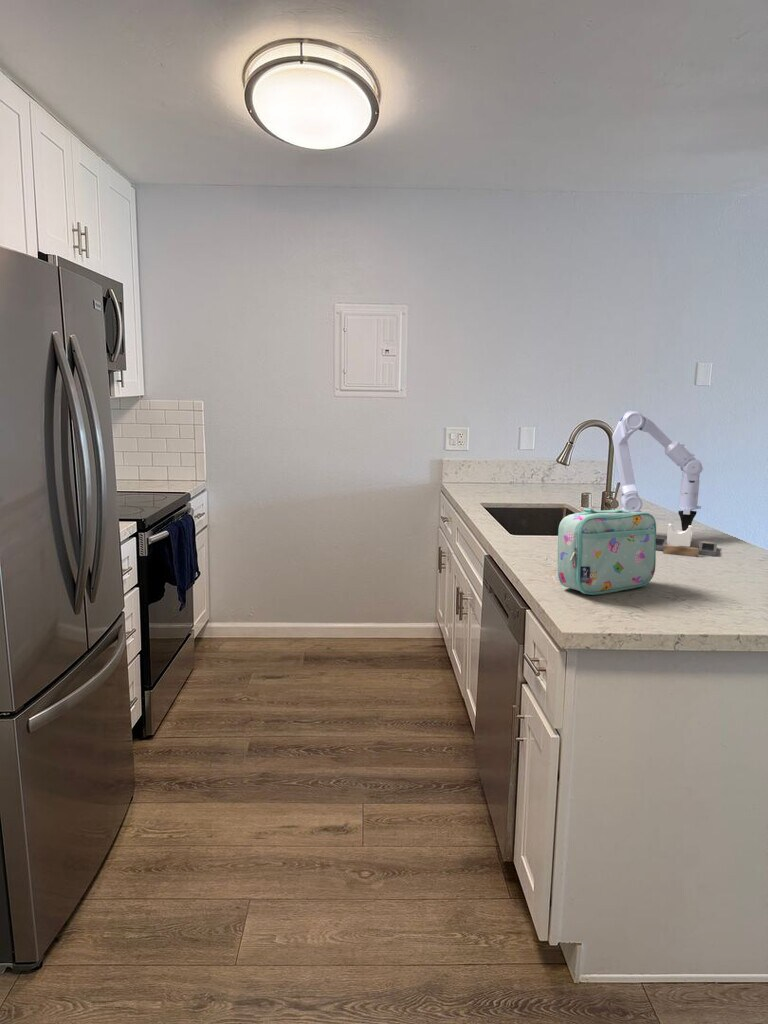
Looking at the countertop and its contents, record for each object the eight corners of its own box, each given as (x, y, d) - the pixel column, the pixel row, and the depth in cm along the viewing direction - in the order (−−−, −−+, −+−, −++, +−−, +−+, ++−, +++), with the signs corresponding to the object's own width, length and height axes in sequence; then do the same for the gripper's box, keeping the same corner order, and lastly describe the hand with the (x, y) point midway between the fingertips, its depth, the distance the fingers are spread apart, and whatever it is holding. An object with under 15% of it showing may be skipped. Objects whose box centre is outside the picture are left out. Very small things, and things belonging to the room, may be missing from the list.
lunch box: (576, 600, 164) (581, 514, 160) (549, 589, 173) (554, 507, 169) (658, 588, 174) (664, 507, 171) (629, 578, 184) (634, 501, 180)
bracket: (689, 549, 218) (691, 526, 217) (666, 547, 222) (668, 524, 220) (691, 541, 230) (693, 520, 228) (669, 539, 233) (671, 518, 232)
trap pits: (647, 549, 217) (647, 544, 217) (651, 541, 228) (651, 537, 228) (715, 556, 208) (716, 551, 208) (716, 548, 219) (717, 543, 219)
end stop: (663, 553, 212) (663, 545, 212) (663, 552, 213) (664, 544, 213) (697, 556, 208) (698, 549, 207) (697, 555, 209) (698, 548, 209)
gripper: (701, 496, 220) (697, 536, 223) (702, 491, 233) (699, 529, 236) (678, 495, 224) (674, 534, 226) (680, 489, 236) (677, 527, 239)
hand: (685, 531), depth 231 cm, fingers closed
